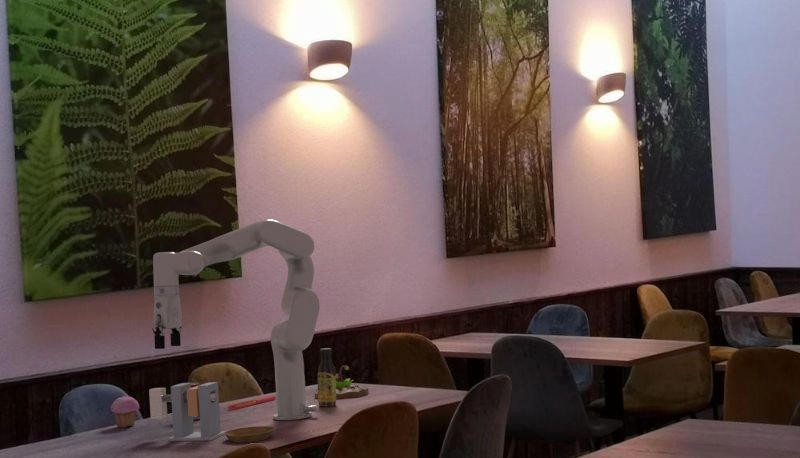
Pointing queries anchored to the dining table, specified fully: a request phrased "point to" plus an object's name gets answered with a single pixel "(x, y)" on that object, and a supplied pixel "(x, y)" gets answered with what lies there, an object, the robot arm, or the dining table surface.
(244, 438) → the plant saucer
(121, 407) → the cupcake
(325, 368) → the sauce bottle
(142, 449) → the dining table surface
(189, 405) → the orange square holed block
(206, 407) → the bearing stand
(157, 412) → the shaft
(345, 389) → the plant
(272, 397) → the red long bar
